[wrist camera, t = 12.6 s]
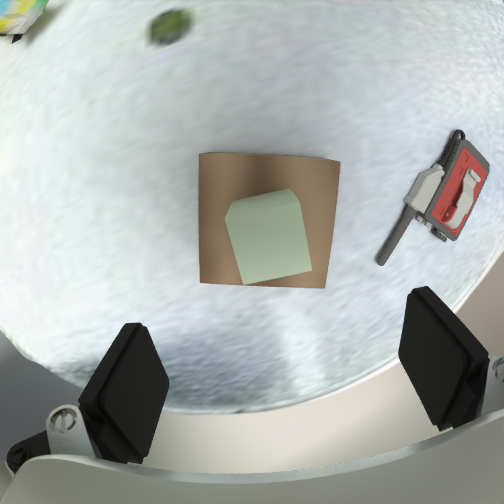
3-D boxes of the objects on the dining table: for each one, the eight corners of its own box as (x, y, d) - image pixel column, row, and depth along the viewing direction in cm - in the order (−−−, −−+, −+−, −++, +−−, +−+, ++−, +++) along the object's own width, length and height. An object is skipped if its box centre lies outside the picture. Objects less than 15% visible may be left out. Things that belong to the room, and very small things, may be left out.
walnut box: (324, 158, 29) (340, 161, 23) (314, 264, 33) (324, 288, 27) (210, 152, 29) (199, 153, 23) (209, 259, 33) (200, 282, 27)
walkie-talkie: (441, 117, 26) (368, 256, 32) (462, 117, 22) (382, 272, 28) (482, 158, 27) (415, 284, 34) (503, 163, 23) (430, 300, 30)
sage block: (289, 188, 24) (299, 201, 18) (300, 242, 26) (312, 270, 20) (232, 201, 24) (224, 218, 19) (246, 254, 26) (243, 285, 21)
